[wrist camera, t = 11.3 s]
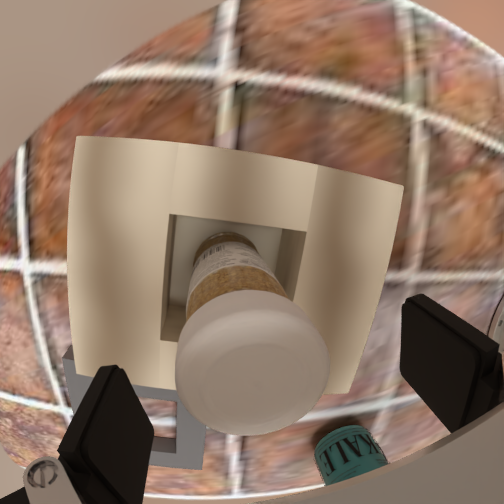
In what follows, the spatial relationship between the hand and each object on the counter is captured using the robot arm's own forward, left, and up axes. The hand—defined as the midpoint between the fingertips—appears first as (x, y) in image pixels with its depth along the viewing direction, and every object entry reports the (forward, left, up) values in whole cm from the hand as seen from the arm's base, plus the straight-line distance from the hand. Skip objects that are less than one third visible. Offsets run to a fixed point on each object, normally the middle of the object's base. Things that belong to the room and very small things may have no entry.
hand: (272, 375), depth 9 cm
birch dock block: (+1, 0, -13) cm, 13 cm away
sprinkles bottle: (+1, 0, -13) cm, 13 cm away
